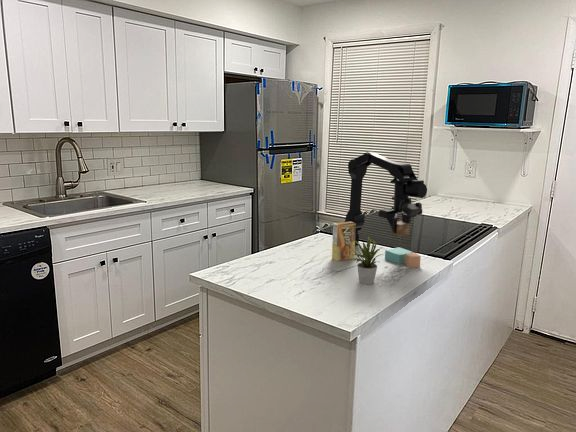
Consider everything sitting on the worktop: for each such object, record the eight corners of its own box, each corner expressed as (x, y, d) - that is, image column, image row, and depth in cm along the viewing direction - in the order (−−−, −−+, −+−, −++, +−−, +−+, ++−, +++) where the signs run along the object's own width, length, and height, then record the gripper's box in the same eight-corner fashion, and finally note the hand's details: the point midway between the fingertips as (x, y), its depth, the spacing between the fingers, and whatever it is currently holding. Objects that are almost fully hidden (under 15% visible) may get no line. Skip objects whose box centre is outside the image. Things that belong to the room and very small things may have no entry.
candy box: (349, 255, 189) (350, 220, 185) (354, 258, 185) (356, 223, 182) (331, 258, 185) (332, 223, 181) (337, 261, 181) (337, 225, 178)
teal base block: (398, 264, 178) (399, 255, 178) (384, 259, 185) (385, 250, 184) (412, 261, 183) (413, 252, 182) (398, 256, 189) (398, 247, 188)
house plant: (345, 273, 168) (346, 231, 164) (382, 274, 166) (384, 232, 163) (346, 287, 154) (347, 242, 150) (386, 288, 153) (388, 243, 149)
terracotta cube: (408, 267, 174) (409, 256, 173) (404, 263, 179) (405, 253, 178) (419, 267, 175) (420, 256, 174) (415, 263, 179) (416, 252, 178)
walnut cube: (399, 236, 179) (399, 224, 178) (391, 234, 183) (391, 222, 182) (408, 235, 181) (409, 223, 180) (400, 232, 185) (400, 221, 184)
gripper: (396, 199, 167) (395, 239, 171) (433, 195, 176) (431, 233, 179) (378, 195, 177) (377, 233, 180) (413, 192, 185) (411, 228, 189)
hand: (399, 232), depth 182 cm, fingers closed on walnut cube, 5 cm apart
